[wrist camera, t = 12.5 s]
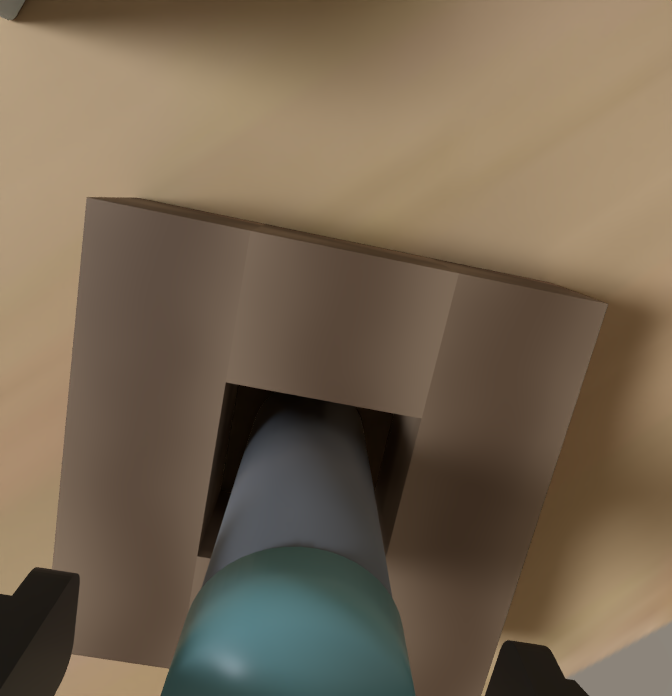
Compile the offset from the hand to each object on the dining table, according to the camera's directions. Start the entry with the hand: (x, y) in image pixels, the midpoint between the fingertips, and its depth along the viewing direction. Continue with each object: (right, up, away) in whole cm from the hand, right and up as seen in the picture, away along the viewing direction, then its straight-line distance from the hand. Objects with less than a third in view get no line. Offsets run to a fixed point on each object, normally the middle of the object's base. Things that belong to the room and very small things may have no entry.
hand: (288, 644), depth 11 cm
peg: (0, +2, +10) cm, 10 cm away
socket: (0, +2, +10) cm, 10 cm away
